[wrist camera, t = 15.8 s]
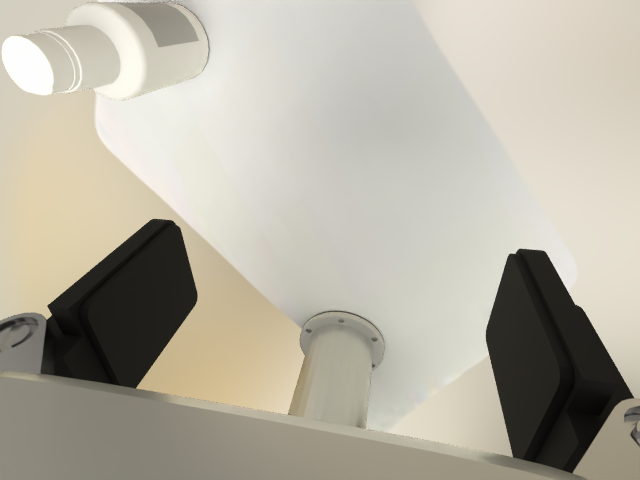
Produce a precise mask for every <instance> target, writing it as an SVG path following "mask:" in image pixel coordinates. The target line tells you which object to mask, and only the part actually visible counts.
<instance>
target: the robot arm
mask: <svg viewBox="0 0 640 480" xmlns="http://www.w3.org/2000/svg"><path fill="white" fill-rule="evenodd" d="M196 302H197V290H196V286H195V283H194V279H193V275H192V271H191V267H190V264H189V260H188V256H187V252H186V248H185V244H184V240H183V237H182V233H181V230H180V227H178V226H177V225H176V224H175V223H174V222H173V221H171V220H162V219H152V220H150V221H149V222H148V223H147V224H145V225H144V226H143V227H142V228H141V229H139V230H138V231H137V232H136V233H135V234H133V235H132V236H131V237H130V238H129V239H127V240H126V241H125V242H124V243H123V244H121V245H120V246H119V247H118V248H116V249H115V250H114V251H113V252H112V253H110V254H109V255H108V256H107V257H106V258H105V259H103V260H102V261H101V262H100V263H98V264H97V265H96V266H95V267H94V268H92V269H91V270H90V271H89V272H88V273H86V274H85V275H84V276H83V277H82V278H80V279H79V280H78V281H77V282H75V283H74V284H73V285H72V286H71V287H70V288H68V289H67V290H66V291H65V292H63V293H62V294H61V295H60V296H59V297H57V298H56V299H55V300H54V301H53V302H51V303H50V304H49V305H48V308H49V310H50V312H51V313H52V316H51V317H50V318H49V319H47V320H46V318H45V317H44V316H43V315H41V314H38V313H22V314H18V315H14V316H11V317H8V318H6V319H3V320H1V321H0V480H640V399H635V398H634V397H633V395H632V393H631V392H630V390H629V388H628V386H627V385H626V383H625V382H624V379H623V378H622V376H621V374H620V372H619V371H618V369H617V367H616V366H615V364H614V362H613V360H612V359H611V357H610V355H609V353H608V352H607V350H606V348H605V346H604V345H603V343H602V341H601V340H600V338H599V336H598V334H597V333H596V331H595V329H594V327H593V326H592V324H591V322H590V320H589V319H588V317H587V315H586V314H585V312H584V311H583V309H582V308H581V307H579V306H577V305H575V304H574V302H573V300H572V298H571V296H570V295H569V293H568V291H567V289H566V287H565V286H564V284H563V282H562V280H561V279H560V277H559V275H558V273H557V271H556V270H555V268H554V266H553V264H552V262H551V261H550V259H549V257H548V255H547V253H546V252H545V251H541V250H529V249H519V250H518V251H517V252H516V254H509V256H508V258H507V261H506V265H505V268H504V271H503V275H502V278H501V282H500V285H499V288H498V292H497V295H496V298H495V302H494V305H493V309H492V312H491V315H490V319H489V322H488V325H487V329H486V342H487V347H488V351H489V355H490V360H491V364H492V368H493V372H494V376H495V381H496V385H497V390H498V394H499V398H500V402H501V406H502V411H503V415H504V420H505V424H506V428H507V433H508V437H509V441H510V445H511V449H512V454H513V457H509V456H504V455H499V454H495V453H489V452H484V451H479V450H474V449H469V448H464V447H459V446H454V445H449V444H444V443H439V442H434V441H429V440H424V439H418V438H413V437H407V436H401V435H396V434H391V433H385V432H379V431H374V430H368V429H366V420H367V410H368V400H369V390H370V380H371V371H372V370H374V369H375V368H377V367H378V365H379V364H380V363H381V361H382V360H383V356H384V341H383V338H382V336H381V334H380V333H379V332H378V330H377V329H376V328H375V327H374V326H373V325H372V324H371V323H369V322H367V321H366V320H364V319H362V318H360V317H358V316H356V315H352V314H349V313H343V312H328V313H322V314H319V315H317V316H315V317H313V318H311V319H310V320H309V321H308V322H306V324H305V325H304V327H303V329H302V332H301V335H300V345H301V349H302V351H303V353H304V354H305V358H304V361H303V365H302V368H301V372H300V375H299V379H298V382H297V385H296V389H295V392H294V395H293V399H292V402H291V405H290V409H289V412H288V415H285V414H279V413H274V412H268V411H262V410H256V409H251V408H245V407H240V406H234V405H228V404H222V403H217V402H211V401H205V400H199V399H194V398H188V397H182V396H176V395H170V394H164V393H158V392H153V391H146V390H141V389H136V387H137V385H138V384H139V383H140V382H141V380H142V379H143V377H144V376H145V375H146V373H147V372H148V370H149V369H150V368H151V366H152V365H153V363H154V362H155V360H156V359H157V358H158V356H159V355H160V354H161V352H162V351H163V349H164V348H165V347H166V345H167V344H168V342H169V341H170V339H171V338H172V337H173V335H174V334H175V333H176V331H177V330H178V328H179V327H180V326H181V324H182V323H183V321H184V320H185V319H186V317H187V316H188V314H189V313H190V312H191V310H192V309H193V307H194V306H195V304H196Z"/></svg>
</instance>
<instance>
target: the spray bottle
mask: <svg viewBox="0 0 640 480" xmlns="http://www.w3.org/2000/svg"><path fill="white" fill-rule="evenodd" d="M1 52H2V60H3V63H4V65H5V68H6V70H7V72H8V73H9V75H10V77H11V78H12V79H13V81H14V82H15V83H16V84H17V85H18V86H19V87H20V88H22V89H23V90H24V91H26V92H30V93H34V94H38V95H49V94H53V93H57V92H62V93H73V92H76V91H80V90H85V89H92V90H93V91H95V92H96V93H97V94H99V95H101V96H104V97H106V98H108V99H113V100H127V99H130V98H134V97H137V96H140V95H143V94H146V93H149V92H152V91H155V90H158V89H161V88H164V87H167V86H170V85H173V84H176V83H179V82H182V81H185V80H188V79H191V78H194V77H196V76H197V75H198V74H199V73H201V72H202V71H203V69H204V67H205V65H206V63H207V59H208V53H209V48H208V39H207V36H206V34H205V31H204V28H203V27H202V25H201V24H200V22H199V21H198V19H197V18H196V16H194V15H193V14H192V13H191V12H190V11H189V10H188V9H186V8H184V7H182V6H180V5H178V4H171V3H109V2H87V3H85V4H83V5H80V6H78V7H76V8H75V9H74V10H73V11H72V12H71V13H70V14H69V16H68V17H67V20H66V24H65V27H63V28H50V29H40V30H38V31H35V32H34V33H33V34H30V35H13V36H11V37H8V38H7V39H6V40H5V42H4V43H3V45H2V51H1Z"/></svg>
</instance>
